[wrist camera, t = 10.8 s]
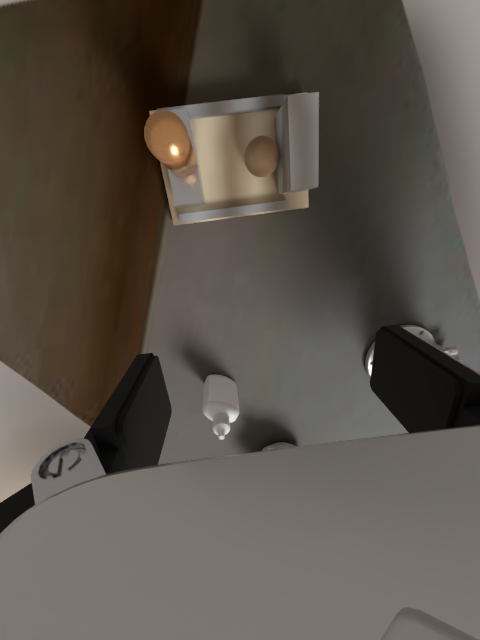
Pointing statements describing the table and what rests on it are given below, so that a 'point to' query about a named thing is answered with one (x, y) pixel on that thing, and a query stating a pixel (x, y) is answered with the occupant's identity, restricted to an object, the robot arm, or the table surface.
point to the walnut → (261, 156)
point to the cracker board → (229, 148)
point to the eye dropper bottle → (220, 403)
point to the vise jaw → (176, 153)
